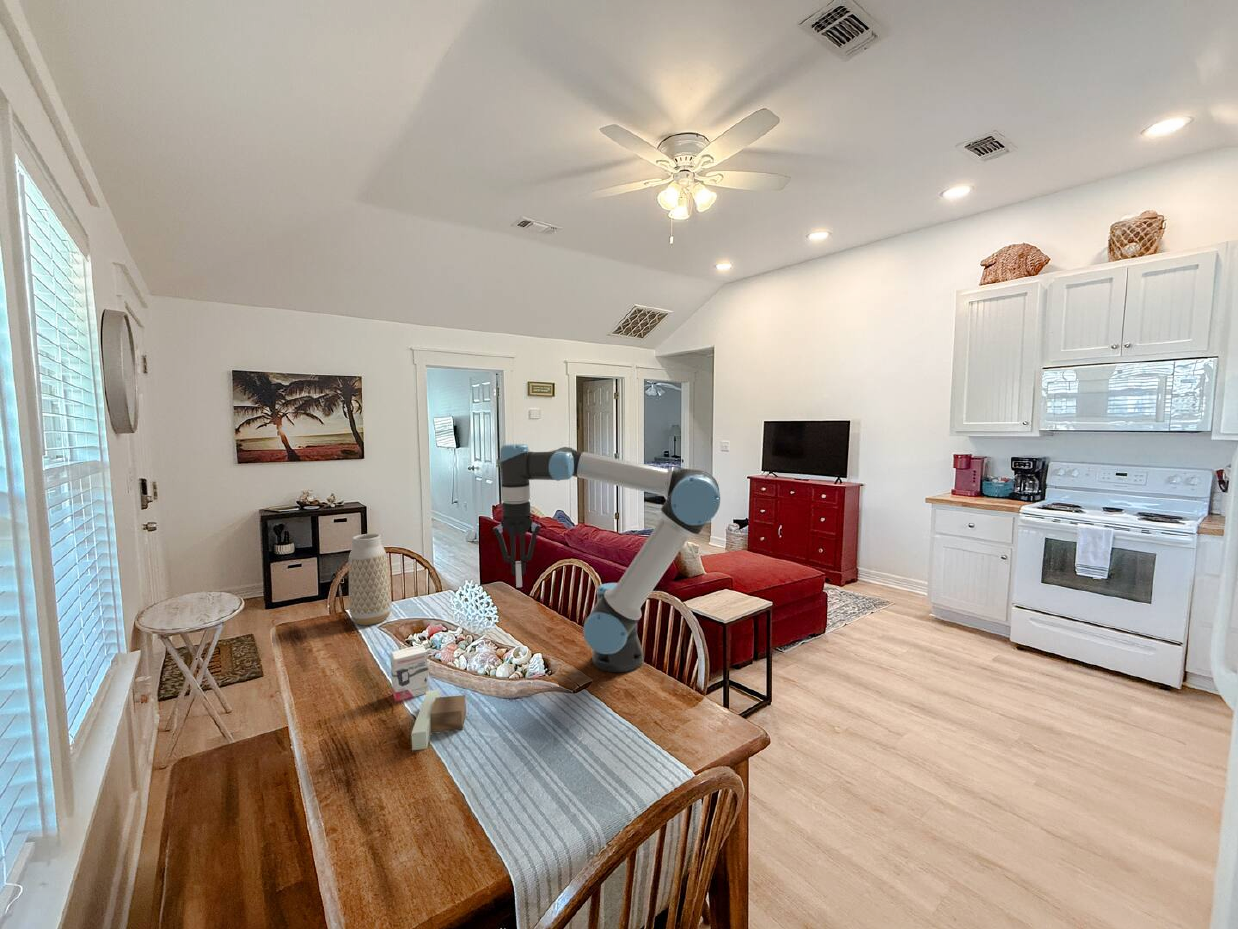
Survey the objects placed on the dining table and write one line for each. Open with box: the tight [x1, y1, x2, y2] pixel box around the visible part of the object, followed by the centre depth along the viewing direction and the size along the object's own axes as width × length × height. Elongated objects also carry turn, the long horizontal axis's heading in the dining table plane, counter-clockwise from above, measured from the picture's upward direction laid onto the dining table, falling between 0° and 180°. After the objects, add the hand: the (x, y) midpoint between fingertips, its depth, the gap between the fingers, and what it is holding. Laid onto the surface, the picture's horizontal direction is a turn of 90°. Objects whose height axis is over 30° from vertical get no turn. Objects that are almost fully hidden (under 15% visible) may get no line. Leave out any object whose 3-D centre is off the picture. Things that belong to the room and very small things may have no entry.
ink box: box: [389, 644, 430, 703], centre depth 141 cm, size 8×5×12 cm, turn 123°
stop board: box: [411, 689, 441, 751], centre depth 127 cm, size 3×18×4 cm, turn 9°
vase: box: [348, 533, 392, 626], centre depth 190 cm, size 14×14×31 cm
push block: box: [430, 694, 467, 734], centre depth 128 cm, size 7×7×5 cm
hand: (519, 585), depth 147 cm, fingers closed
